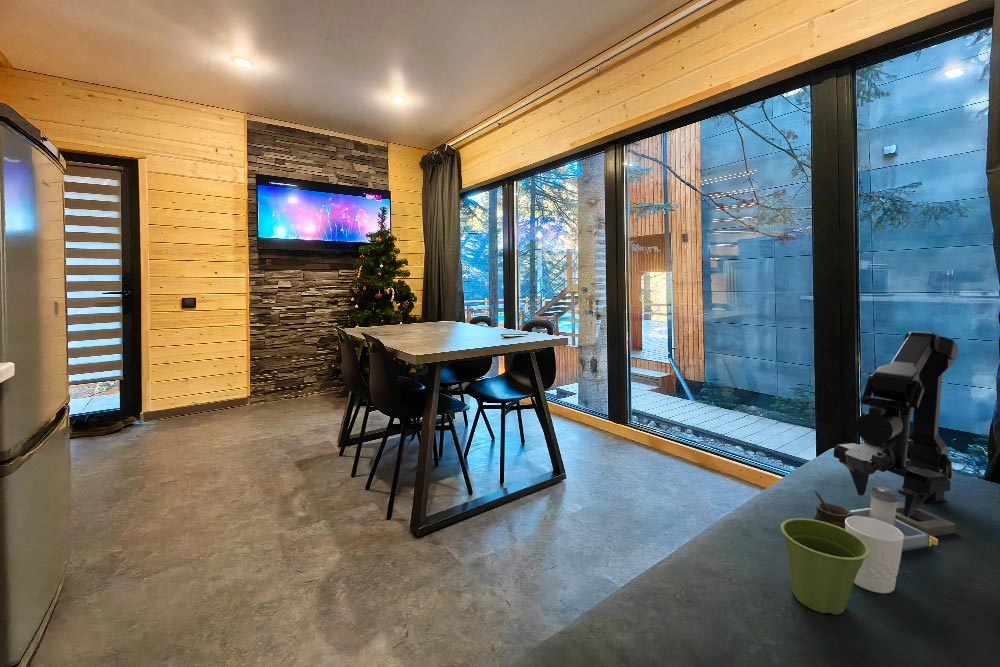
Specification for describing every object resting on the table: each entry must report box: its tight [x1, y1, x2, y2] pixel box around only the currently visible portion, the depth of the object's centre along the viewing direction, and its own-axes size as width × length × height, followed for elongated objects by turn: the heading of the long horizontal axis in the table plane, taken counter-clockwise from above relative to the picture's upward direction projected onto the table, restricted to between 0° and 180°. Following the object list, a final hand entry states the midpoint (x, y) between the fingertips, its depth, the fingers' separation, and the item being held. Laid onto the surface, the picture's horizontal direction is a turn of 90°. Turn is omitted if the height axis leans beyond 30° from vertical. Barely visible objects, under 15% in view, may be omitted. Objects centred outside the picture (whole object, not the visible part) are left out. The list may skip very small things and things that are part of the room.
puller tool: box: [929, 536, 939, 547], centre depth 92 cm, size 9×2×1 cm, turn 12°
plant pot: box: [780, 517, 870, 615], centre depth 73 cm, size 12×12×11 cm
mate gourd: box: [813, 490, 851, 529], centre depth 88 cm, size 7×8×10 cm
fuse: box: [869, 485, 898, 526], centre depth 92 cm, size 4×4×9 cm
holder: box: [895, 500, 956, 537], centre depth 96 cm, size 10×8×2 cm
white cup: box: [845, 516, 904, 594], centre depth 77 cm, size 8×8×10 cm
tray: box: [849, 507, 930, 552], centre depth 92 cm, size 11×9×2 cm
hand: (883, 505), depth 91 cm, fingers open, 9 cm apart
